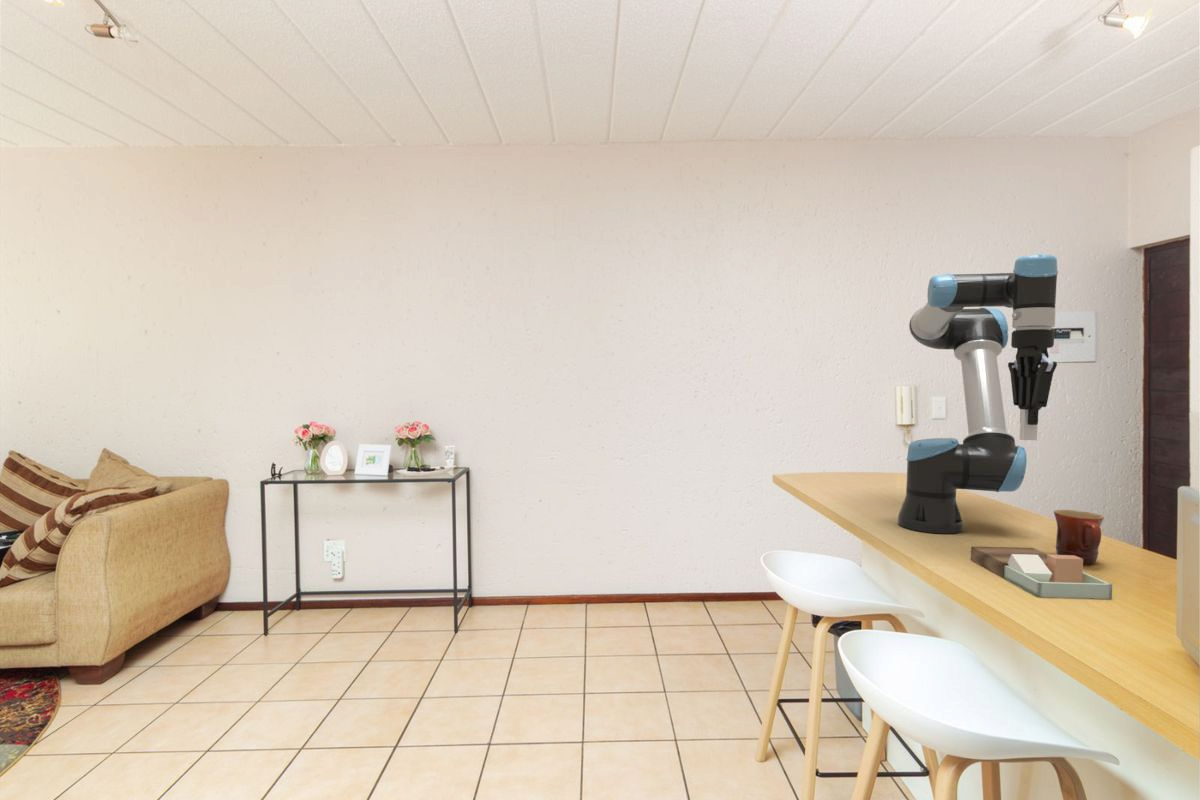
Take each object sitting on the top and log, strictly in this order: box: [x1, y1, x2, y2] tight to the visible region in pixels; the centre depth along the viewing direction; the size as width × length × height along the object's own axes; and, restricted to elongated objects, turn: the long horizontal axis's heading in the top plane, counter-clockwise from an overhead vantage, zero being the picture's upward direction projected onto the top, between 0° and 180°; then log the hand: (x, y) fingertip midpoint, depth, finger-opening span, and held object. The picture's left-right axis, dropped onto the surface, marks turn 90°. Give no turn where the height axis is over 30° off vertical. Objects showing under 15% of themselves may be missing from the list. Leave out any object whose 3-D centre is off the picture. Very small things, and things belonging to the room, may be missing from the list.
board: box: [970, 546, 1049, 579], centre depth 132 cm, size 12×13×3 cm
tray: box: [1003, 565, 1113, 600], centre depth 121 cm, size 10×13×3 cm
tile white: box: [1008, 554, 1052, 582], centre depth 123 cm, size 5×5×2 cm
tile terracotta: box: [1047, 554, 1084, 583], centre depth 122 cm, size 5×5×2 cm
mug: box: [1053, 509, 1105, 566], centre depth 137 cm, size 12×9×10 cm
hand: (1028, 439), depth 137 cm, fingers closed
